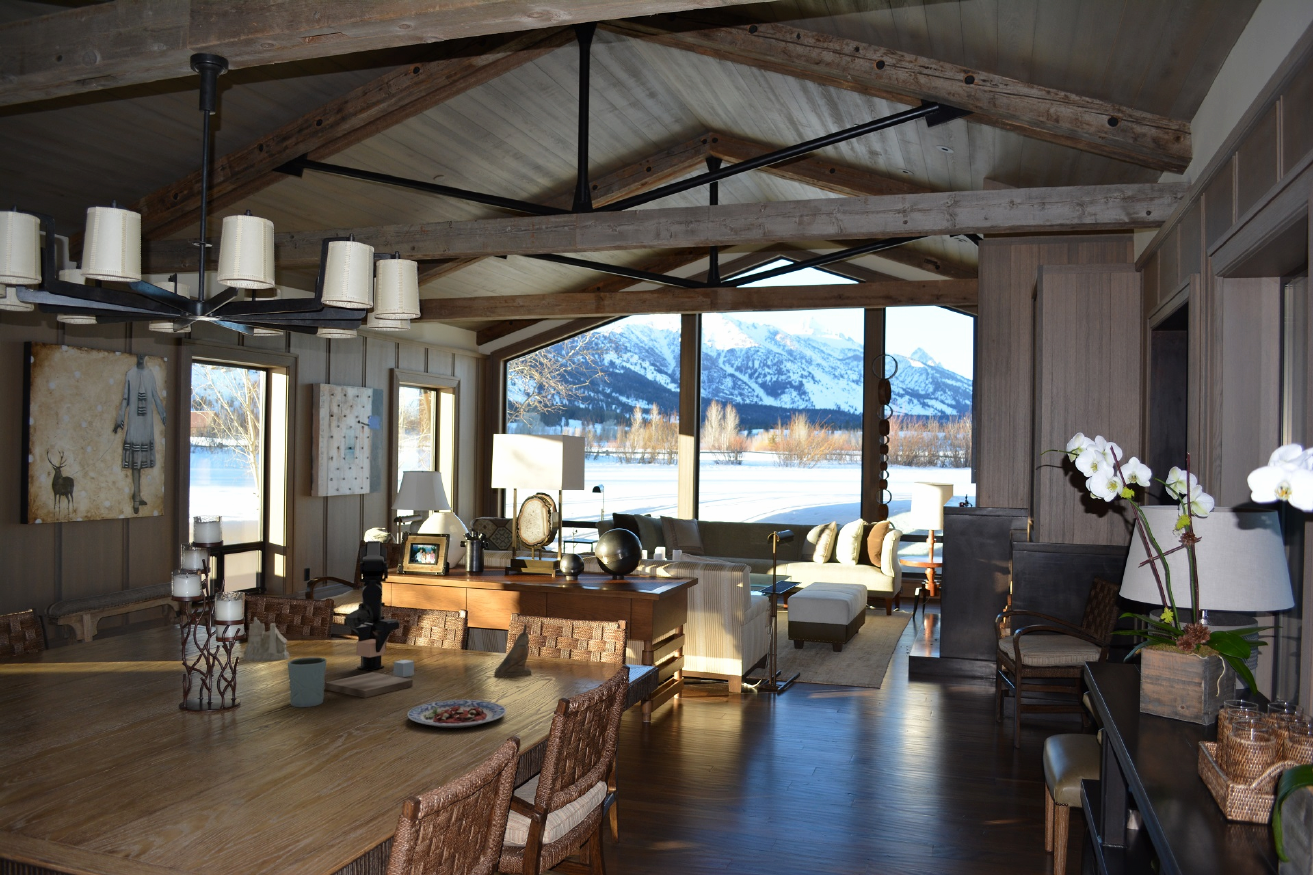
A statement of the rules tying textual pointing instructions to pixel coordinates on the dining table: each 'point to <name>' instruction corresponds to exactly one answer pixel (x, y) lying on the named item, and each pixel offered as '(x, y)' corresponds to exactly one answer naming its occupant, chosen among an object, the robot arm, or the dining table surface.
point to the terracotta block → (368, 648)
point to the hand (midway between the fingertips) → (370, 651)
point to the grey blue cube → (403, 668)
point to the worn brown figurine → (515, 658)
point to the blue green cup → (307, 681)
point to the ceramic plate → (456, 713)
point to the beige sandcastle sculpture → (265, 644)
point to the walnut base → (368, 684)
